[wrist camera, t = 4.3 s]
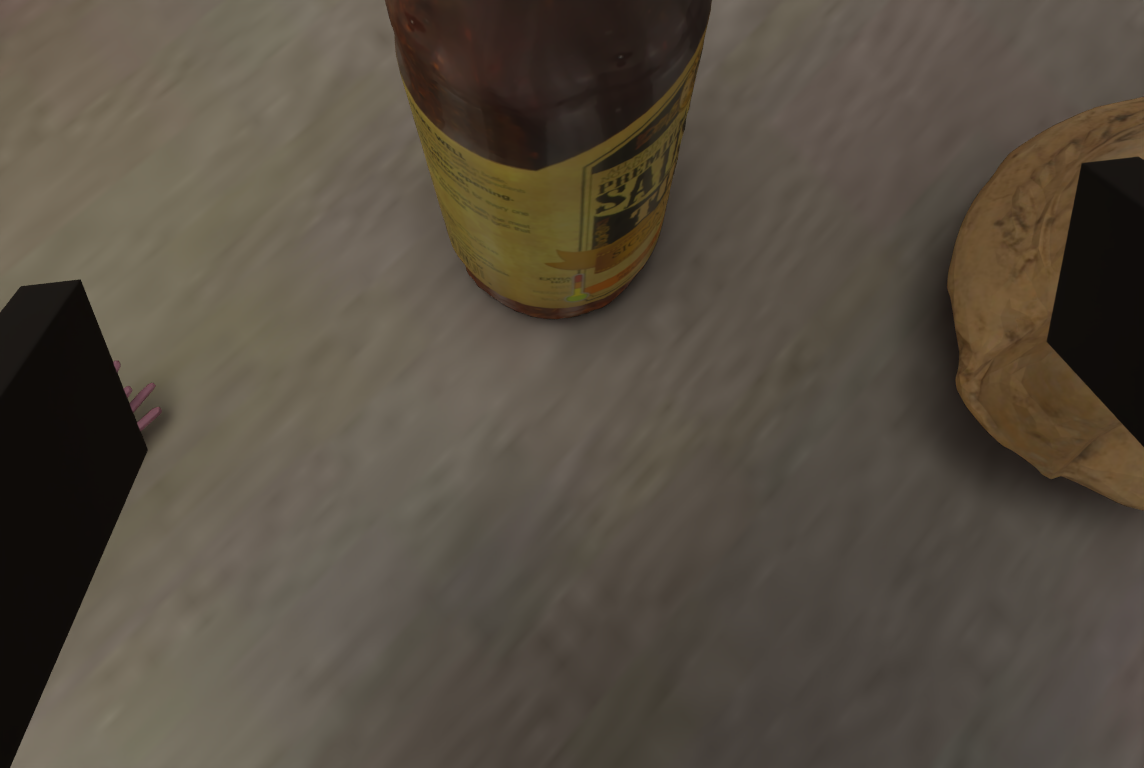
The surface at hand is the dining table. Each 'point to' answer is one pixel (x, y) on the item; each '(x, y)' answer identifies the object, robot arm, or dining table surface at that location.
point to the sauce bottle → (551, 135)
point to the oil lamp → (1039, 308)
